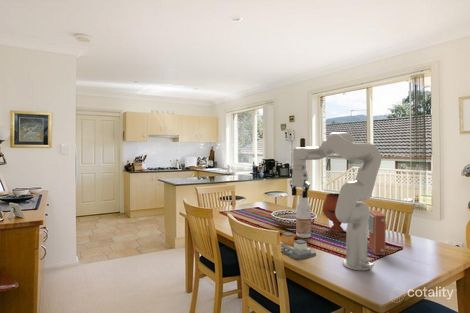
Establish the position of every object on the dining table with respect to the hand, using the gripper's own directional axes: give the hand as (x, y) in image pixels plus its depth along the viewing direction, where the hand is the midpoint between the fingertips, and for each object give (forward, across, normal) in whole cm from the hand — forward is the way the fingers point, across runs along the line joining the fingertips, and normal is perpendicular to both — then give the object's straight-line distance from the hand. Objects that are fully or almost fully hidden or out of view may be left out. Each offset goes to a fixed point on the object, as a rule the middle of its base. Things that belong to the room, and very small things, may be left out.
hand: (299, 196), depth 180 cm
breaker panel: (+28, -9, +12) cm, 32 cm away
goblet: (+28, +9, -41) cm, 51 cm away
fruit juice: (+28, +10, -12) cm, 32 cm away
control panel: (+28, -31, -29) cm, 51 cm away
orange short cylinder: (+27, -5, +12) cm, 30 cm away
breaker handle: (+27, -15, +12) cm, 33 cm away
